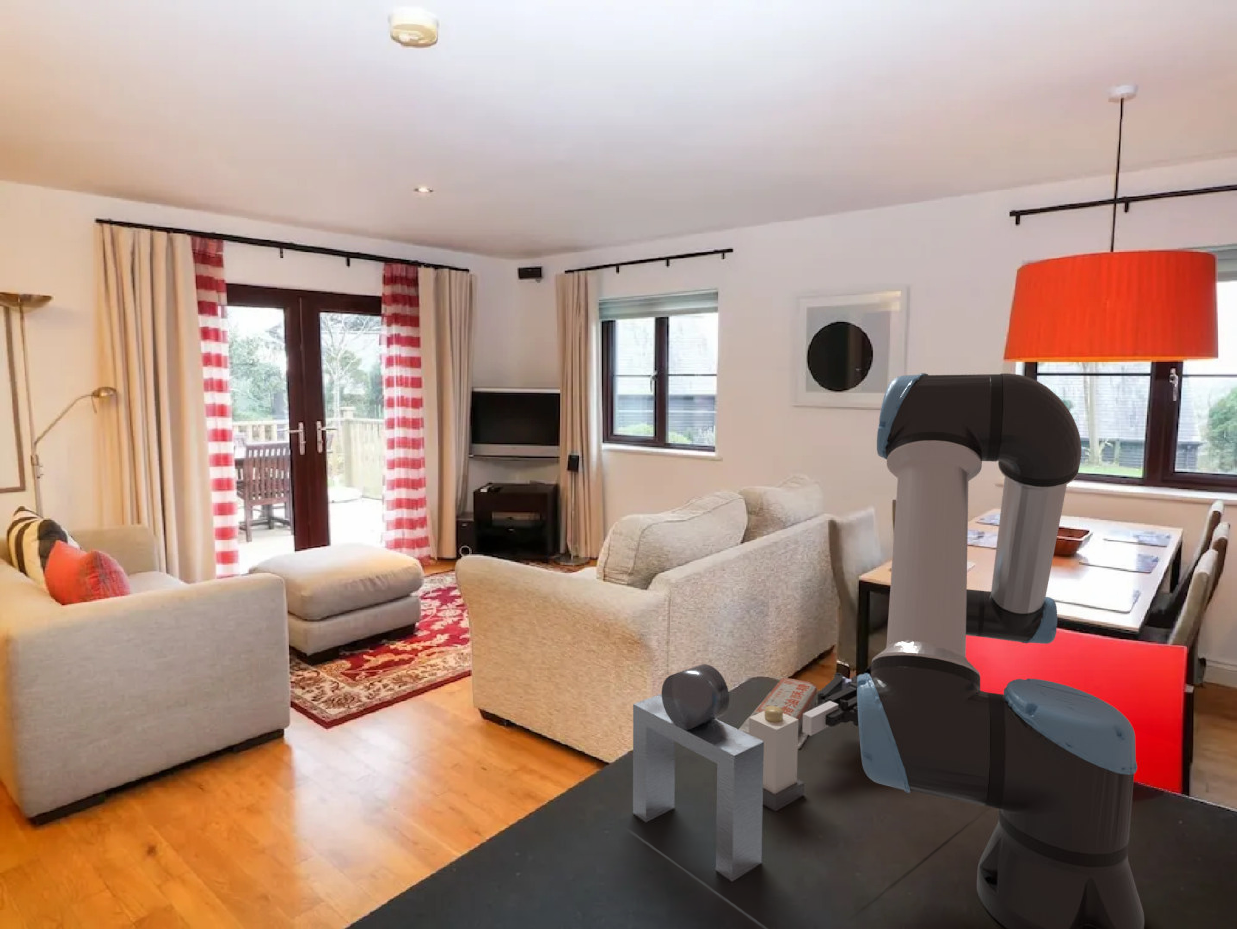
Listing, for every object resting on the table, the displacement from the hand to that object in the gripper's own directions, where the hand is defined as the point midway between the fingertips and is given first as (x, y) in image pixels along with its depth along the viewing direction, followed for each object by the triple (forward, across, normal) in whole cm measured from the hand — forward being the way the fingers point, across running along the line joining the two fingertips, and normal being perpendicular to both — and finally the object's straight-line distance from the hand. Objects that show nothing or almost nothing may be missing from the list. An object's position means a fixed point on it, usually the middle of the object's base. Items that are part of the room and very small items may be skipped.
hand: (807, 724), depth 103 cm
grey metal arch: (+23, 0, -7) cm, 24 cm away
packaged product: (-12, +13, -9) cm, 19 cm away
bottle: (+8, 0, -7) cm, 11 cm away
